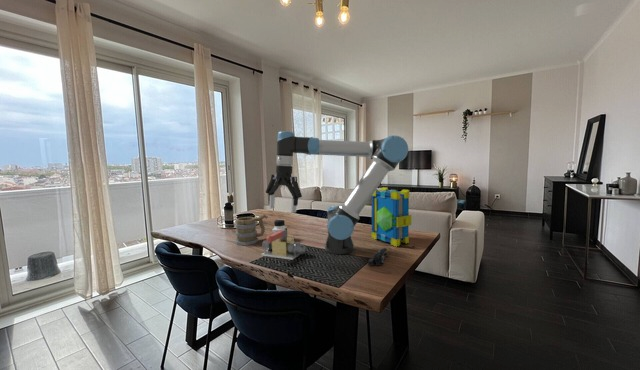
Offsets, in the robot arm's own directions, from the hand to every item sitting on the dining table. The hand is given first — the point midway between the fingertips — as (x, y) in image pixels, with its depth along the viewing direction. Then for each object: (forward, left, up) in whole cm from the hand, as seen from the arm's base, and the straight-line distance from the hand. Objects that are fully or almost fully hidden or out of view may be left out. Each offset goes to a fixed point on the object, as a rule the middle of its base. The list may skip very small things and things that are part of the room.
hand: (282, 210), depth 127 cm
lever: (+5, -2, -16) cm, 17 cm away
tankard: (+34, -20, -24) cm, 46 cm away
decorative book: (-42, -45, -24) cm, 66 cm away
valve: (+5, -7, -24) cm, 25 cm away
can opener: (-43, -14, -24) cm, 51 cm away
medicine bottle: (+20, -28, -24) cm, 42 cm away
